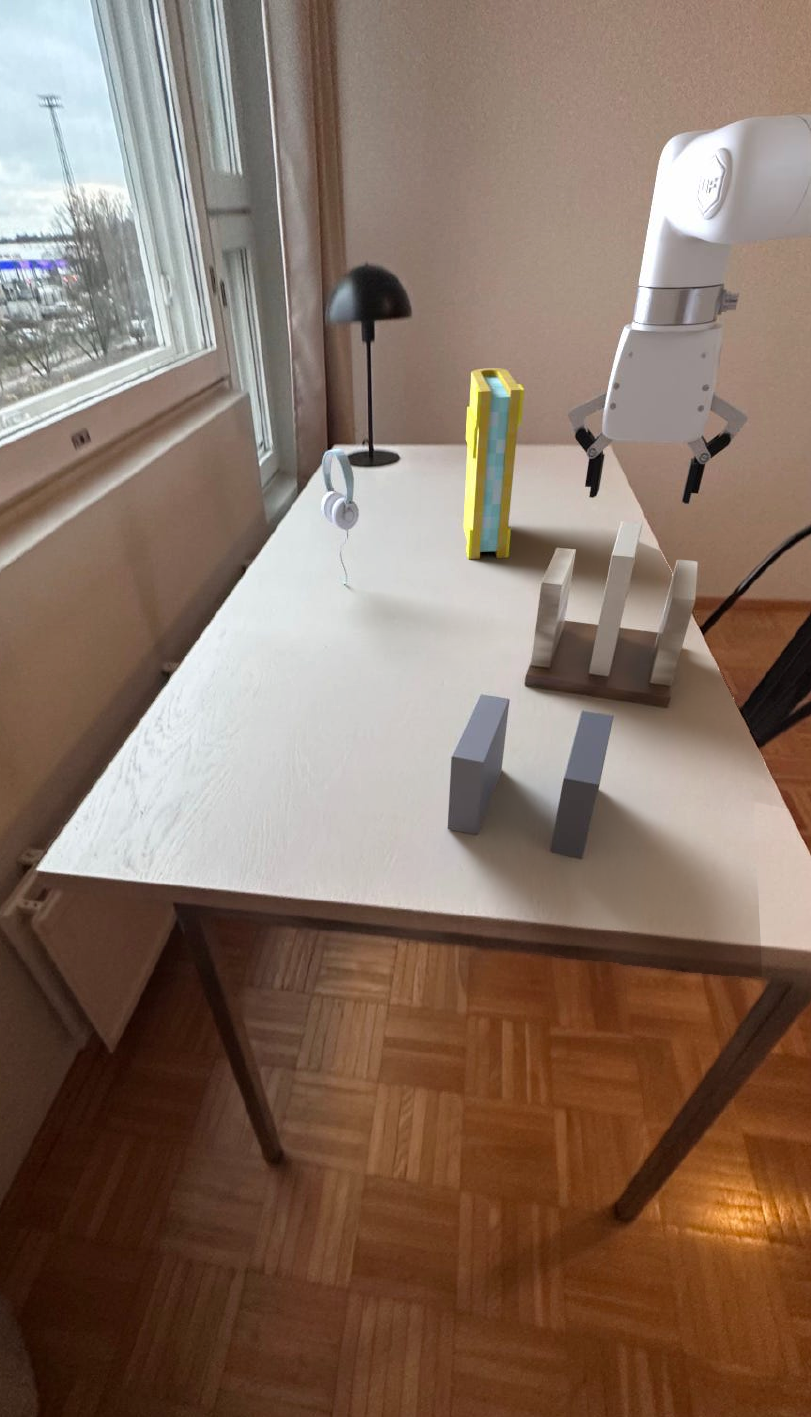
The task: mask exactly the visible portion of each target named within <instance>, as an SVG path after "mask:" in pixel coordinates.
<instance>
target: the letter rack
mask: <svg viewBox="0 0 811 1417" xmlns="http://www.w3.org/2000/svg"><path fill="white" fill-rule="evenodd" d="M576 553H577V549H575V548H565V547H556V548H555V550H554V553H553V556H552V558H551V560H550V561H549V562H550V563H549V564H548V567H547V569H546V572H545V573H544V575H543V578H542V581H541V583H540V591H539V597H538V598H539V599H538V605H537V613H536V621H535V627H534V636H533V644H532V651H531V659H530V664H529V665H528V669H527V671H526V673H525V678H524V686H526V687H532V688H538V689H546V690H553V691H559V692H563V693H564V692H566V693H571V694H576V695H577V694H578V695H583V696H589V697H590V696H591V697H595V698H596V697H597V698H602V699H608V700H616V701H620V702H621V701H622V702H628V703H634V704H642V705H648V706H652V707H653V706H655V707H659V708H660V707H661V708H666V709H667V708H668V707H669V704H670V702H671V697H672V688H673V680H674V677H675V674H676V669H677V667H678V663H679V659H680V656H681V652H682V649H683V646H684V642H685V638H686V634H687V631H688V627H689V624H690V621H691V617H692V614H693V610H694V607H695V603H696V598H697V597H696V596H697V585H698V584H697V582H698V569H699V568H698V567H699V561H696V560H686V559H676V561H675V565H674V570H673V574H672V577H671V581H670V584H669V589H668V593H667V597H666V600H665V605H664V609H663V612H662V616H661V619H660V624H659V628H658V632H657V631H656V632H655V631H650V630H643V629H634V628H625V627H620V629H619V634H618V638H617V643H616V647H615V652H614V656H613V660H612V665H611V669H610V673H609V676H601V675H594V674H589V670H590V665H591V660H592V654H593V649H594V644H595V639H596V634H597V629H598V624H596V623H586V622H578V621H572V620H566V616H567V608H568V603H569V595H570V590H571V584H572V577H573V571H574V564H575V560H576Z"/></svg>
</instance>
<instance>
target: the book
mask: <svg viewBox="0 0 811 1417" xmlns="http://www.w3.org/2000/svg"><path fill="white" fill-rule="evenodd" d="M524 396H525V388H524V387H523V385H522V384H521V383H517V382H516V380H515V378H514V377H513V376H512V374H511V373H510V372H509V371H508V369H505V368H499V367H485V368H477V369H474V370H472V371H471V373H470V392H469V406H467V407H466V408H467V409H466V426H465V427H466V428H465V431H466V432H465V440H466V441H465V442H466V443H467V448H466V449H467V452H466V466H465V467H466V468H465V470H466V471H465V486H464V487H465V489H464V506H463V509H464V510H463V525H462V527H463V532H464V536H465V540H466V545H465V551H466V556H467V560H478V559H479V560H480V558H481V553H483V552H494V553H495V557H496V559H507V558H509V554H510V544H511V532H512V528H511V526H509V524H510V522H509V521H510V514H511V502H512V491H513V480H514V470H515V461H516V460H515V459H516V448H517V437H518V428H519V427H522V419H523V418H522V417H523V410H524V409H523V407H524V399H525V398H524Z"/></svg>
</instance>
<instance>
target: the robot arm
mask: <svg viewBox="0 0 811 1417" xmlns="http://www.w3.org/2000/svg"><path fill="white" fill-rule="evenodd" d="M801 238H811V113H803V114H801V113H800V114H799V113H798V114H797V113H796V114H786V115H765V116H764V115H763V116H754V117H749V118H744V119H741V120H738V121H734V122H732V123H730V124H727V125H724V126H723V127H720V128H710V129H699V130H693V131H685V132H683V133H682V132H681V133H679V134H676V135H675V136H673V137H671V139H670V140H668V141H667V142H666V144H665V146H663V149H662V152H661V155H660V157H659V161H658V166H657V172H656V178H655V185H654V190H653V197H652V203H651V210H650V214H649V220H648V227H647V232H646V238H645V244H644V249H643V257H642V262H641V268H640V275H639V280H638V287H637V292H636V298H635V304H634V309H633V310H634V311H633V316H632V322H631V323H628V324H626V325H624V327H623V330H622V333H621V336H620V339H619V342H618V347H617V349H616V352H615V357H614V361H613V365H612V370H611V374H610V378H609V382H608V388H607V389H606V390H605V391H603V392H601V393H600V394H597V395H595V396H593V397H591V398H590V399H587V400H585V401H583V402H582V403H580V404H577V405H576V406H574V407H572V408H571V409H570V410H569V412H568V415H567V417H568V418H569V419H568V420H569V422H570V426H571V428H572V431H573V434H574V439H575V440H576V441H577V443H578V444H579V446H580V447H581V448H582V450H583V451H584V452H585V453H586V457H587V458H588V461H587V462H588V464H587V470H586V477H585V483H584V487H585V488H590V490H589V495H588V496H589V498H590V499H591V498H592V499H594V498H596V497H597V496H598V493H599V490H600V486H601V480H602V474H603V467H604V461H605V455H606V453H604V450H605V449H606V448H607V447H608V446H609V445H610V444H611V443H612V442H613V441H619V442H620V441H621V442H637V443H639V442H640V443H663V444H664V443H665V444H687V445H688V447H689V448H690V450H691V452H692V454H693V457H691V458H690V462H689V467H688V471H687V476H686V479H685V484H684V488H683V493H682V498H681V503H683V504H686V505H687V504H688V505H689V504H690V501H691V497H692V494H696V495H697V494H699V492H700V488H701V484H702V480H703V476H704V471H705V467H706V464H708V463H709V462H710V461H711V459H712V458H714V457H716V456H717V455H718V454H719V453H720V452H721V451H723V450H724V449H726V448H727V447H729V445H730V444H731V442H732V441H733V439H734V438H735V437H736V436H737V435H738V433H739V432H740V431H741V429H743V427H744V426H745V425H746V423H747V422H748V413H747V412H746V411H744V410H743V409H742V408H739V407H738V406H736V405H735V404H733V403H732V402H730V401H729V400H727V399H725V398H724V397H723V396H721V395H719V394H717V392H715V390H716V383H717V378H718V373H719V368H720V361H721V353H722V348H723V338H724V337H723V336H724V335H723V334H724V324H723V323H719V322H717V320H718V315H719V316H721V315H722V313H727V311H736V309H737V305H738V303H739V302H738V301H739V297H740V292H732V291H731V290H728V289H727V288H725V283H726V279H727V276H728V270H729V267H730V262H731V259H732V253H733V249H734V245H735V244H736V245H737V244H746V243H747V244H748V243H760V242H764V241H774V240H786V239H787V240H788V239H801ZM602 409H603V414H602V415H603V416H602V423H601V431H600V433H599V434H598V435H597V436H596V437H595V435H594V434H593V433H592V431H591V430H590V429H589V427H588V426H587V423H586V417H587V416H590V415H592V414H594V413H596V412H598V411H600V410H602ZM710 412H713V413H714V414H716V415H717V416H719V417H720V418H722V419H723V420H725V421H726V422H727V423H726V425H725V426H724V428H723V429H722V430H721V432H719V433H718V434H716V435H715V436H714V437H713V438H712V439H711V440H709V441H708V440H707V439H706V437H705V435H704V433H705V430H706V428H707V424H708V420H709V418H710V414H711V413H710Z"/></svg>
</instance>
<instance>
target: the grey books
mask: <svg viewBox="0 0 811 1417" xmlns="http://www.w3.org/2000/svg"><path fill="white" fill-rule="evenodd" d="M478 696H479V697H478V698H477V701H476V703H475V704H474V707H473V709H472V712H471V714H470V716H469V718H468V719H467V722H466V725H465V727H464V729H463V731H462V733H461V735H460V737H459V739H458V742H457V744H456V746H455V747H454V750H453V752H452V755H451V758H450V775H449V776H450V777H449V794H448V796H449V797H448V798H449V799H448V810H447V813H448V814H447V829H448V830H452V831H456V832H461V833H465V834H470V835H474V836H478V834H479V831H480V829H481V826H482V823H483V820H484V818H485V816H486V812H487V810H488V807H489V805H490V802H491V800H492V799H491V798H492V796H493V793H494V791H495V789H496V785H497V783H498V780H499V777H500V775H501V772H502V769H503V761H504V753H505V752H504V751H505V743H506V734H507V726H508V718H509V709H510V701H511V700H510V698H507V697H501V696H496V695H495V696H494V695H489V694H482V693H481V694H479V695H478ZM613 721H614V715H612V714H611V715H610V714H605V713H600V712H593V711H586V710H581V711H580V715H579V718H578V723H577V726H576V730H575V733H574V736H573V737H574V738H573V742H572V745H571V749H570V753H569V757H568V760H567V764H566V768H565V772H564V775H563V780H562V785H561V789H560V796H559V801H558V806H557V812H556V816H555V822H554V827H553V831H552V838H551V843H550V848H549V852H550V853H554V854H558V855H562V856H568V857H572V858H576V859H581V860H582V859H583V858H584V853H585V849H586V844H587V840H588V836H589V831H590V828H591V823H592V819H593V814H594V811H595V806H596V802H597V798H598V793H599V788H600V785H601V780H602V776H603V775H602V774H603V771H604V764H605V760H606V755H607V750H608V745H609V741H610V735H611V731H612V725H613Z"/></svg>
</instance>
